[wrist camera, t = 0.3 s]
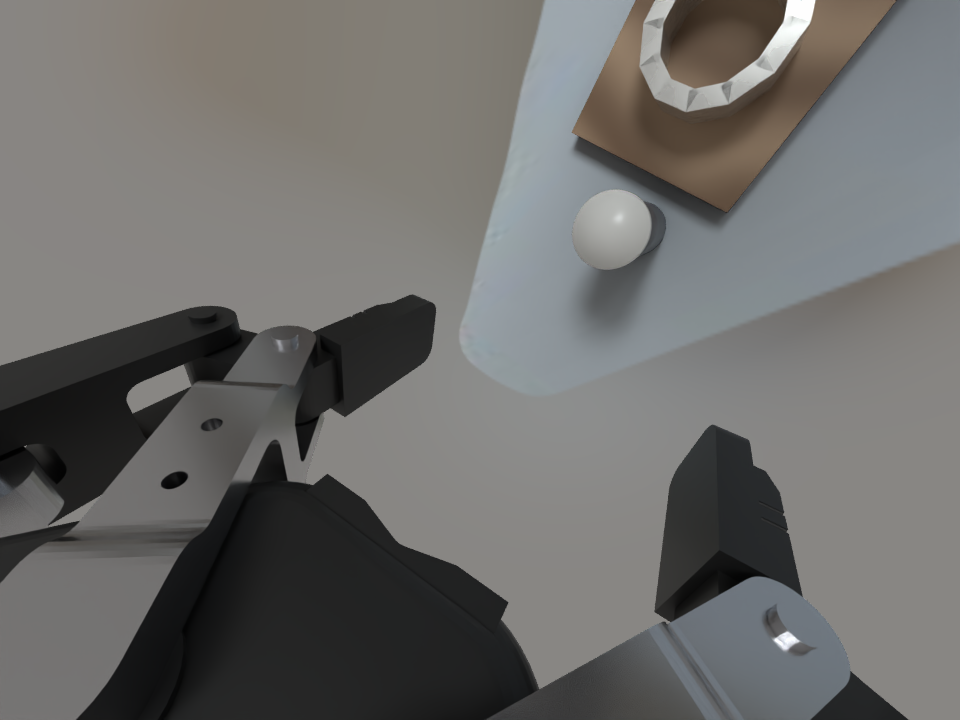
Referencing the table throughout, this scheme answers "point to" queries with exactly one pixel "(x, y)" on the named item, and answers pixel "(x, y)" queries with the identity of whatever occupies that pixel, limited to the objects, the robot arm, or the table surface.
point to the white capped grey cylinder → (616, 229)
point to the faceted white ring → (723, 97)
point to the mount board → (712, 60)
